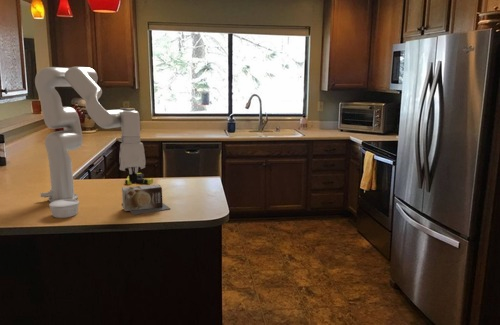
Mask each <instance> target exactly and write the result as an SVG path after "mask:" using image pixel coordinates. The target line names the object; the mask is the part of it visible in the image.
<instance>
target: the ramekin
mask: <svg viewBox="0 0 500 325" xmlns="http://www.w3.org/2000/svg"><path fill="white" fill-rule="evenodd" d="M79 205H80V201H79V200H77V199H76V200H73V199H64V200H57V201H53V202H50V203H49V204H48V207H49V209H50V212H51V215H52V216H53V217H54V218H56V219H57V218H58V219H65V218H72V217H74V216H76V215H77V214H78V212H79Z"/></svg>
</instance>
